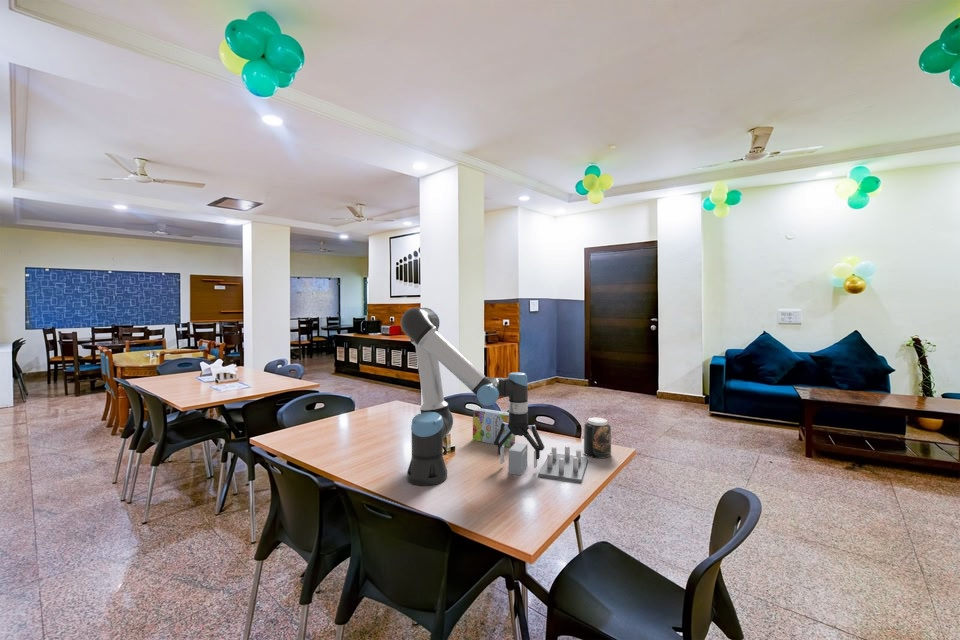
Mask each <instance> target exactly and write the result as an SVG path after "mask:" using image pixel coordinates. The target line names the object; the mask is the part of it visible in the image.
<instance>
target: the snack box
mask: <svg viewBox="0 0 960 640" xmlns="http://www.w3.org/2000/svg"><path fill="white" fill-rule="evenodd" d="M509 412H510V411H509ZM509 412H508V411H507V412H506V411H502V410H494V409H489V408H488V409H486V408H480V407H477V408H475V409H473V410H472V440H473V441H478V442H481V443H487V444H492V445H494V441H495V439H496V437H497V435H498V433H499V431H500V429H501V424H502V423H503V422H506V423H508V424H509ZM509 432H510V429H509V428H508V427H507V428H505V430H504V432H503V434H502V436H501V438H500V440H499V442H501V441H502V440H503V439H504V437H505V436H506V435H507V434H508V433H509ZM515 443H516V436H515V435H513V434H511V435H510V437H509V438H508V439H507V440H506V441H505V442H504V443H503V445H502V446H504V447H506V448H511V447H512V446H513V445H514V444H515Z"/></svg>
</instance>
